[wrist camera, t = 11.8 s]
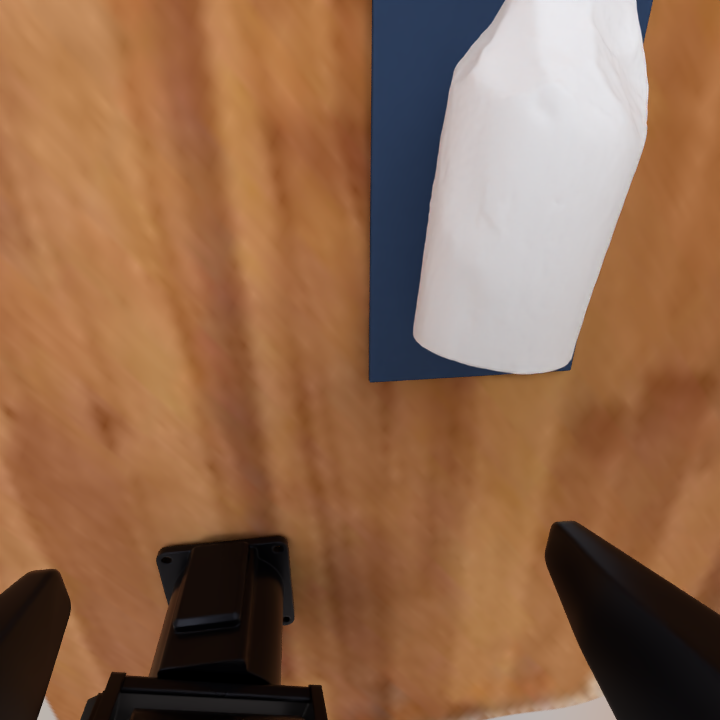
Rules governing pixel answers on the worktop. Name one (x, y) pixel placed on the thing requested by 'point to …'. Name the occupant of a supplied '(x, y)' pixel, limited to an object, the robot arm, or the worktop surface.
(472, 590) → the worktop surface
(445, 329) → the white tapered cylinder
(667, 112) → the worktop surface
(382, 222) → the cloth
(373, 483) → the worktop surface
